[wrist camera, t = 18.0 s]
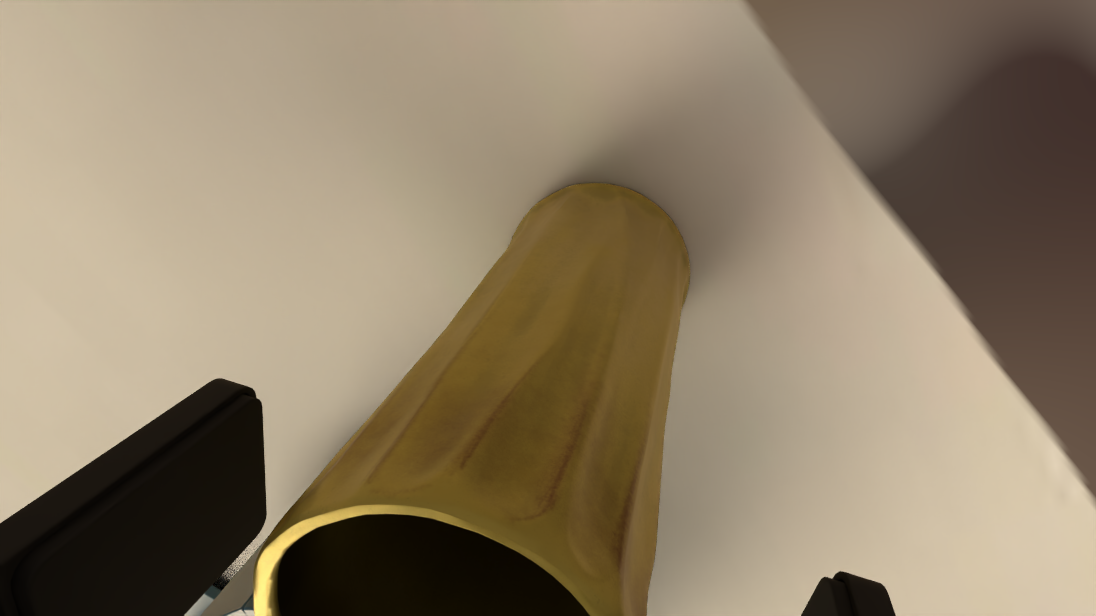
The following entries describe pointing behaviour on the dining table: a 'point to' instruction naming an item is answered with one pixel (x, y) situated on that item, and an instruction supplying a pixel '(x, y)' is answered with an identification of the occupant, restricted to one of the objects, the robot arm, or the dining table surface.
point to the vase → (509, 439)
